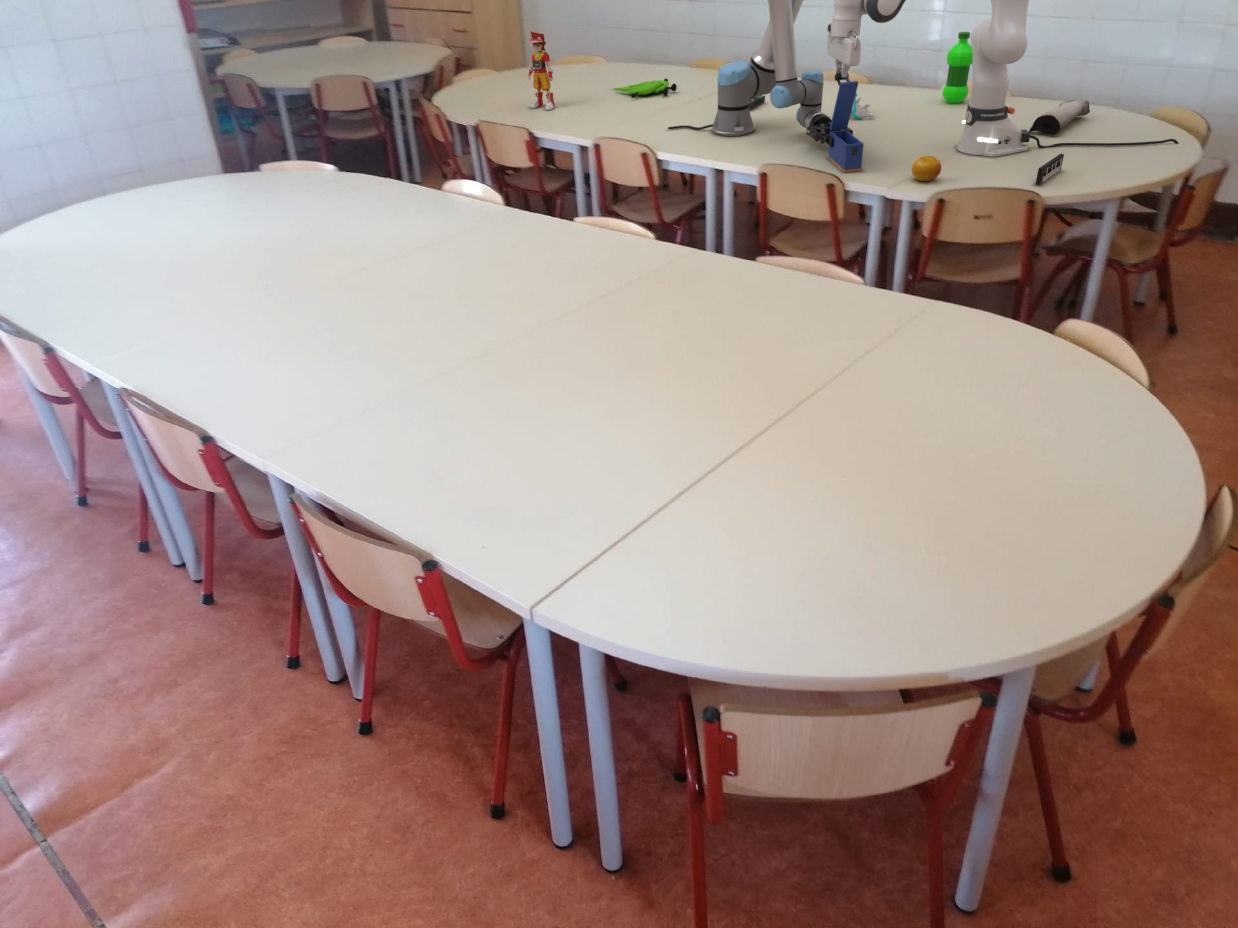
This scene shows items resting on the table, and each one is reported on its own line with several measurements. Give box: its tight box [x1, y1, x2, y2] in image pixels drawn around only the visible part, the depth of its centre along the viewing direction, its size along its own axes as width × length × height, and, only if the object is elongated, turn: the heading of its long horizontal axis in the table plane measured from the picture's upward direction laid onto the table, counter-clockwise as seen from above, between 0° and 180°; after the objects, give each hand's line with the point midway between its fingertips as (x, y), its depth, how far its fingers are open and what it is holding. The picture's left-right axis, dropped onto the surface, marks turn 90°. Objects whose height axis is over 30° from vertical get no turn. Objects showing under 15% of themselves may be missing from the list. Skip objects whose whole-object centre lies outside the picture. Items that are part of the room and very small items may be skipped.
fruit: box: [911, 155, 942, 182], centre depth 277 cm, size 8×8×8 cm
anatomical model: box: [851, 91, 875, 120], centre depth 344 cm, size 15×10×10 cm
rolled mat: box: [1028, 99, 1091, 137], centre depth 319 cm, size 30×9×10 cm
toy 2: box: [612, 78, 677, 99], centre depth 396 cm, size 28×5×30 cm
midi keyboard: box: [1035, 153, 1065, 186], centre depth 273 cm, size 18×1×5 cm, turn 138°
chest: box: [827, 130, 864, 174], centre depth 294 cm, size 17×6×9 cm, turn 7°
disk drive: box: [749, 95, 766, 111], centre depth 366 cm, size 10×3×15 cm
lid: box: [830, 73, 859, 131], centre depth 292 cm, size 17×6×9 cm
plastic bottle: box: [942, 31, 973, 104], centre depth 348 cm, size 10×10×25 cm
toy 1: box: [527, 31, 556, 111], centre depth 374 cm, size 12×9×30 cm
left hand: (842, 142), depth 296 cm, fingers closed on chest, 6 cm apart
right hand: (841, 76), depth 289 cm, fingers open, 3 cm apart
